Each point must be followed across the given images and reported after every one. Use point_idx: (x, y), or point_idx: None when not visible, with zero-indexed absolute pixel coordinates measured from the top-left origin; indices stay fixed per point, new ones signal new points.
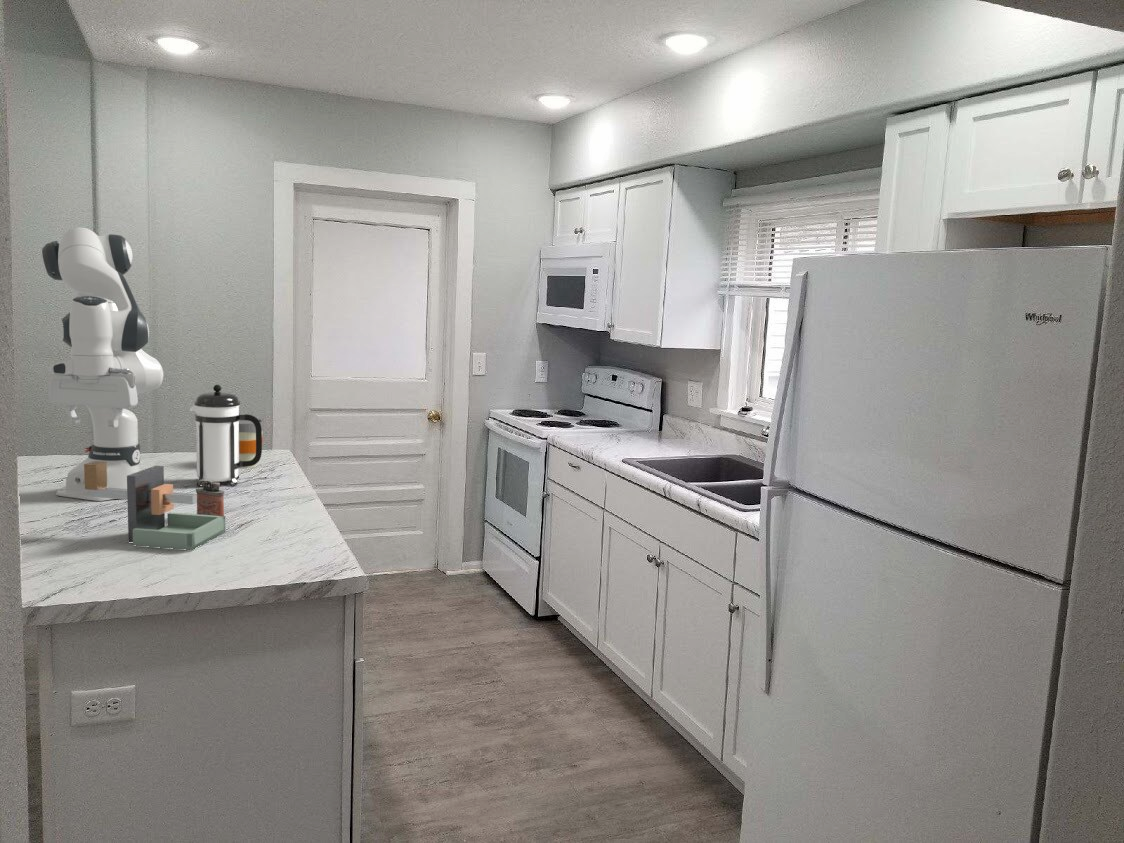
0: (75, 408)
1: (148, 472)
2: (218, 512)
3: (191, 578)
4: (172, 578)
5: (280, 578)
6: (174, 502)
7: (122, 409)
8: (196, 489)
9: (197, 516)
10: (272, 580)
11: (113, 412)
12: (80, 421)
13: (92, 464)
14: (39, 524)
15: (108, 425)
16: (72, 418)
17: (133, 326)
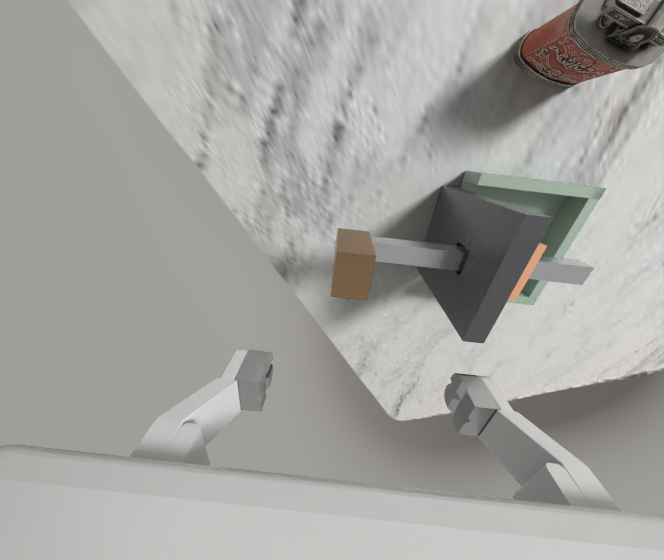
0: (200, 433)
1: (508, 293)
2: (587, 79)
3: (518, 370)
4: (498, 371)
5: (620, 365)
6: None
7: (603, 491)
8: (577, 27)
9: (542, 192)
10: (608, 370)
11: (522, 495)
12: (268, 359)
13: (353, 294)
14: (226, 184)
15: (447, 402)
16: (244, 405)
17: None
